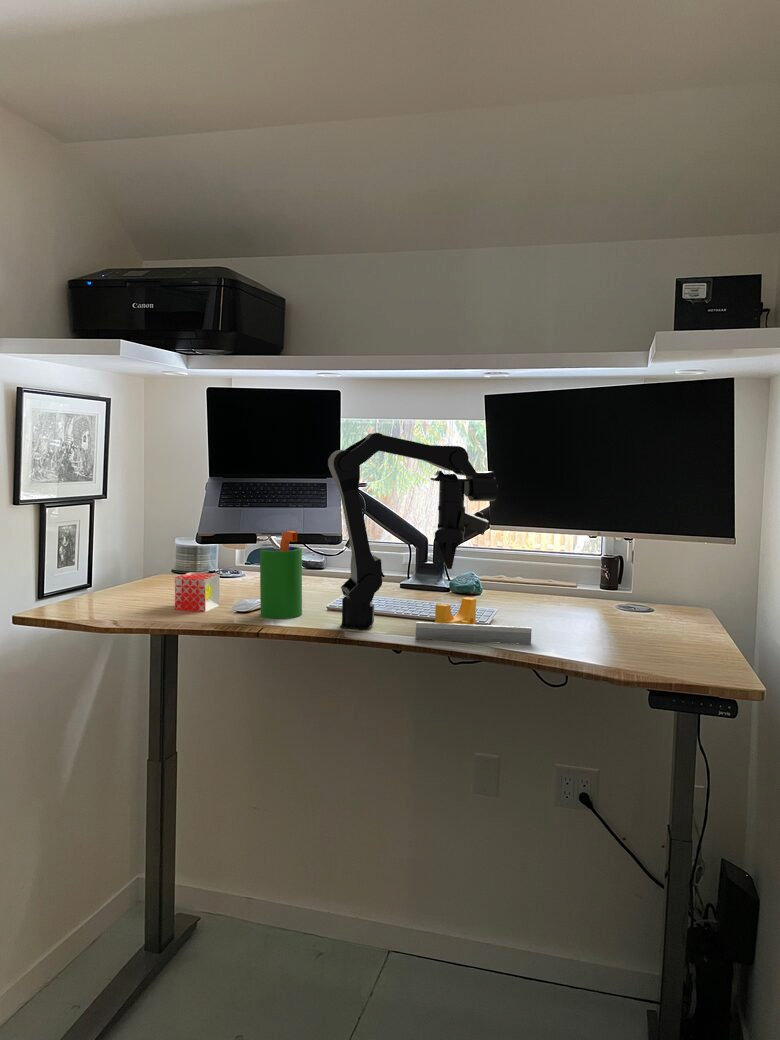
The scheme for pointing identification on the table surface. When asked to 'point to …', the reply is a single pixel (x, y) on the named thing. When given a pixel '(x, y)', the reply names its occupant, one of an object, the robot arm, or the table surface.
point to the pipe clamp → (462, 617)
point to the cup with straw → (281, 580)
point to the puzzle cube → (197, 592)
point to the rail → (473, 632)
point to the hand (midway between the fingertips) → (449, 568)
